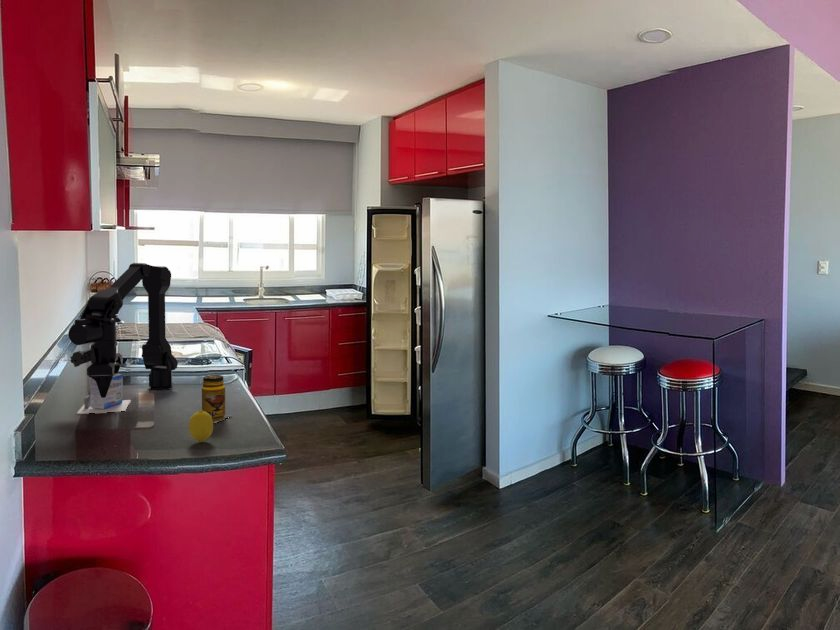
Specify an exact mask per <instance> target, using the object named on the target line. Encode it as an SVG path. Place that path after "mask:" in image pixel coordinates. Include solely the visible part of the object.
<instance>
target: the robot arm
mask: <svg viewBox="0 0 840 630" xmlns="http://www.w3.org/2000/svg"><path fill="white" fill-rule="evenodd" d="M171 279H172V272H171V270H170V269H169V268H168V267H167V266H159V265H150V264H148V263H143V262H133V263H130V264H129V266H128V268H127V269H126V270H125V271H124V272H123V273H122V274H121V275H120V276H119V277H118V278H116V280H115V281H113V283H112V284H110V286H109V287H107V288H105V289H103V290H99V291H97V292H95V293H94V294H93V295H91V296H90V297H89V299H88V301H87V304H86V305H85V308H84V310H83V311H82V314H81V316H80V318H79V319H74V324H72V325H71V327H70V328H69V331H68V334H67V335H68V338H69V340H70V342H71V343H72V344H74V345H75V346H81V345H82V346H83V345H86V344H91V343H92V344H91V345H90V348H88V349H85V350H84V349H83V350H82V351H81V350H78V351H74V352H73V353H72V355H71V356H70V363H72V364H73V367H74V368H77V367H79V366H81V365H83V364H86V363H89V362H90V365H89V366H88V367H87V368H86V376H88V377H89V378H90V379H91V378H92V379H94V380H95V381H96V383H97V386H98V389H99V392H100V395H101V398H105V397H106V395H107V392H108V390H109V387H110V384H111V381H112V379H113V376H114V373H116V374H119V371H120V369H121V367H122V363H123V355H122V354H121V353H119V352H117V346H118V344H119V343H118V341H117V329H116V327H117V326H116V324H117V323H120V322H121V321H122V320H121V318H119V317H118V316H117V314H118V313H119V312H120V310H121V309H122V307H123V305H124V299H125V298H126V297H127V296H128V295H129V293H130V292H131V291H133V290H134V288H136V287H137V285H138V284H139V283H140V282H141V283H142V287H143V288H144V290H145V292H146V293H147V301H148V302H147V303H148V304H147V305H148V306H147V308H148V309H147V310H148V319H147V320H148V321H147V322H148V338H147V340H146V343H145V344H142V345H141V358H142V361H143V364H144V368H145V370H150V372H149V373H148V387H149V390H168V389H169V390H170V389H173V386H174V382H173V371H175V370H176V369H178V365H179V364H178V363H179V362H178V360H177V359H176V357H175V356H174V355H173V353H172V352H173V351H172V347H171V344H170V343H169V341H168V339H167V338H166V293H167V292H168V290H169V288H170V286H171Z"/></svg>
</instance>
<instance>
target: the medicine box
mask: <svg viewBox="0 0 840 630" xmlns="http://www.w3.org/2000/svg"><path fill="white" fill-rule="evenodd" d="M123 380H124V377H123V374H122V373H118V374H116V373H114V376H113V379H112V381H111V384H110V387H109V390H108V392H107V395H106V397H105V398H101V395H100V392H99V389H98V386H97V383H96V381H95V380H94V379H92V378H90V400H91V404H90V407H91V408H96V409H103V410H104V409H107V408H110V407H112V406H115V405H118V404H120V403H122V400H123V392H124V391H123V390H124V389H123V387H124V385H123V383H124V381H123Z"/></svg>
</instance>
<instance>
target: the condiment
mask: <svg viewBox="0 0 840 630" xmlns="http://www.w3.org/2000/svg"><path fill="white" fill-rule="evenodd" d="M224 383H225V382H224V376H223V375H222V374H209V375H205V376H203V378H202V387H201V410H203V411H205V412H207V413H208V414H210V416H211V417H212V420H213V422H215V421H220V420H223V419H225V415H226V386H225V385H224ZM228 419H230V418H229V417H228Z"/></svg>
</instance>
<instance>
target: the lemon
mask: <svg viewBox="0 0 840 630" xmlns="http://www.w3.org/2000/svg"><path fill="white" fill-rule="evenodd" d="M188 431H189V435H190V436H191V438H193V439H194V440H196V441H198V442H199V443H203V442H204V441H205V440H207V439H209V438H210V436H211V435H212V434H213V431H214V424H213V420H212V417H211V416H210V414H208V413H207V412H205V411H203V410H202V409H199V410H198V411H196V412H195V413H193V414H192V415H191V417H190V419H189V422H188Z"/></svg>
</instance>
